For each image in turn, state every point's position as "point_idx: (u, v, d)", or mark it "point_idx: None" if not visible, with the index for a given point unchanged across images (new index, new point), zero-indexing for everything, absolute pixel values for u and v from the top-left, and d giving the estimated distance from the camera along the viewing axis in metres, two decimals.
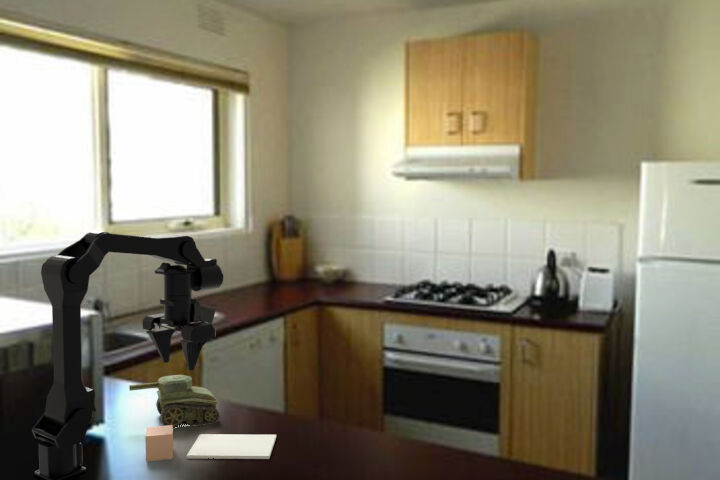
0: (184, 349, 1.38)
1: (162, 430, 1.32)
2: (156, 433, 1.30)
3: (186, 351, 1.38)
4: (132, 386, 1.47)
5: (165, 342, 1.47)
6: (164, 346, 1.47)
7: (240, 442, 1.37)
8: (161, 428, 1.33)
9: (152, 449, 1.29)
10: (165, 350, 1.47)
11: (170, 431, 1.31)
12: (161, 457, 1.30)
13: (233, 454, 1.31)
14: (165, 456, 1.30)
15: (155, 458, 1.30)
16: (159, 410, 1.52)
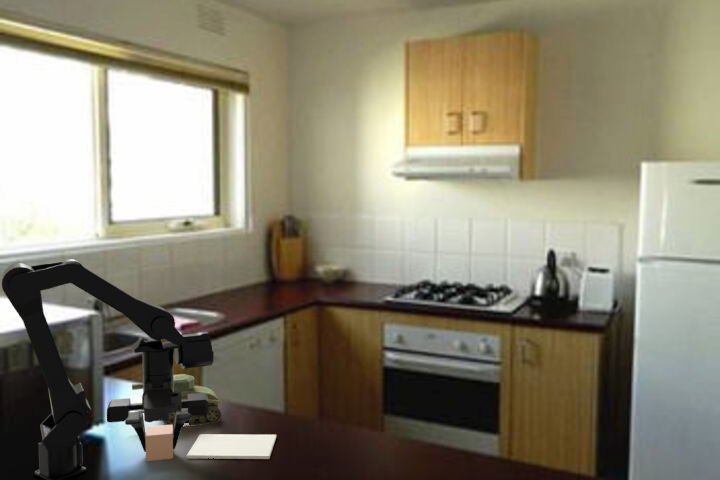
0: None
1: (162, 429, 1.32)
2: (156, 432, 1.30)
3: None
4: (134, 385, 1.47)
5: (174, 426, 1.32)
6: None
7: (240, 442, 1.37)
8: (161, 427, 1.33)
9: (152, 448, 1.29)
10: (173, 434, 1.33)
11: (170, 430, 1.31)
12: (161, 457, 1.30)
13: (233, 454, 1.31)
14: (165, 456, 1.30)
15: (155, 458, 1.30)
16: None
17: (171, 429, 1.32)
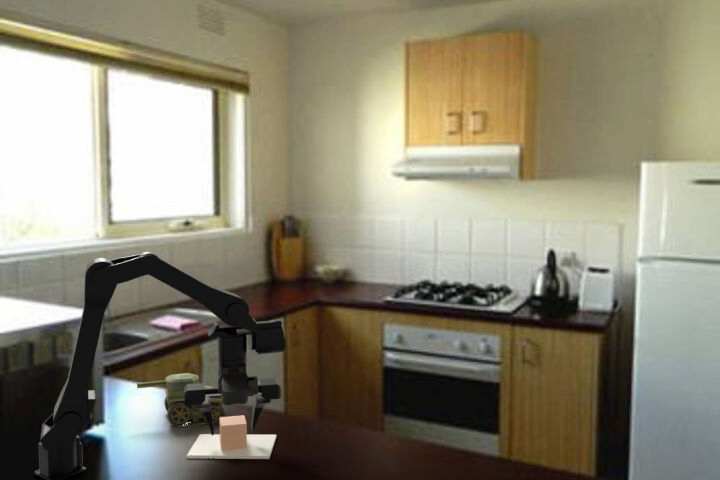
0: None
1: (235, 420, 1.36)
2: (230, 422, 1.34)
3: None
4: (139, 383, 1.48)
5: (253, 410, 1.36)
6: (253, 413, 1.37)
7: None
8: (233, 418, 1.37)
9: (227, 438, 1.33)
10: (252, 418, 1.37)
11: (244, 421, 1.35)
12: (235, 446, 1.34)
13: (233, 454, 1.31)
14: (239, 445, 1.34)
15: (230, 447, 1.33)
16: (167, 408, 1.54)
17: (244, 419, 1.36)
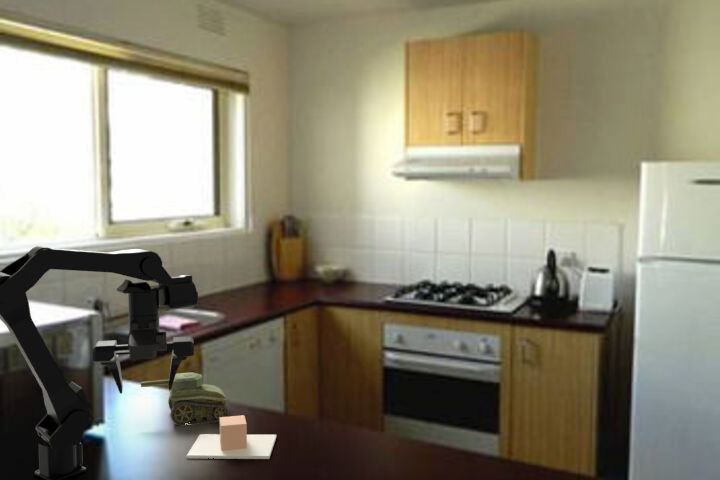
0: None
1: (235, 420, 1.36)
2: (230, 422, 1.34)
3: None
4: (143, 382, 1.49)
5: (170, 367, 1.34)
6: None
7: None
8: (233, 418, 1.37)
9: (227, 438, 1.33)
10: (169, 376, 1.35)
11: (244, 421, 1.35)
12: (235, 446, 1.34)
13: (233, 454, 1.31)
14: (239, 445, 1.34)
15: (230, 447, 1.33)
16: (171, 407, 1.55)
17: (244, 419, 1.36)
